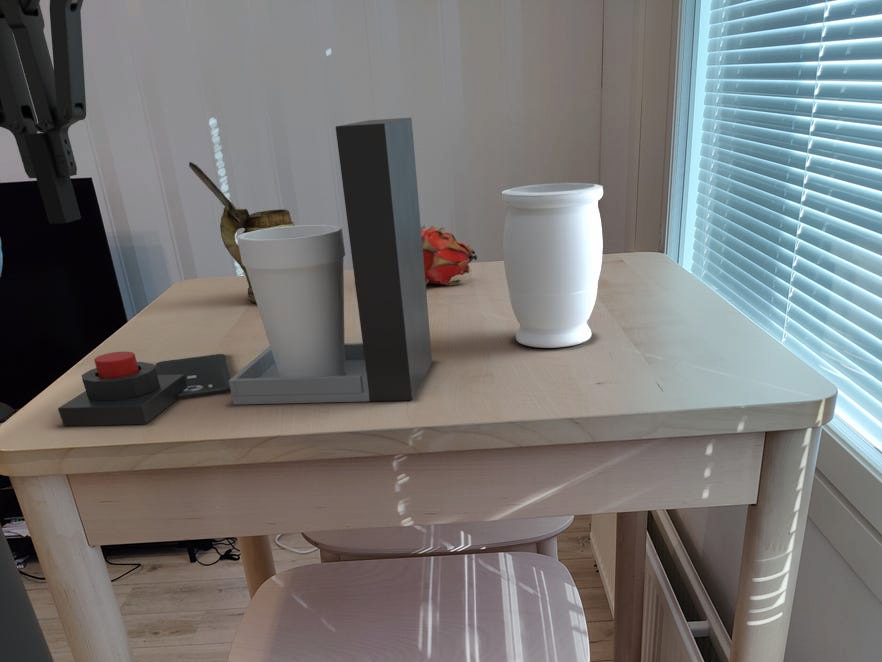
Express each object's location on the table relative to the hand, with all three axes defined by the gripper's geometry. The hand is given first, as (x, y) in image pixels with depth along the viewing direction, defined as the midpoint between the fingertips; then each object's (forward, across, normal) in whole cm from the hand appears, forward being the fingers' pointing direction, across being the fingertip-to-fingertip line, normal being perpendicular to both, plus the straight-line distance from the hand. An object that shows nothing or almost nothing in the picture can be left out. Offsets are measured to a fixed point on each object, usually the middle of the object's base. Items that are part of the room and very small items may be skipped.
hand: (65, 220), depth 74 cm
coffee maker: (+16, -20, -6) cm, 27 cm away
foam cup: (+16, -18, -6) cm, 24 cm away
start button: (+13, -1, 0) cm, 13 cm away
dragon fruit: (+17, -23, -56) cm, 63 cm away
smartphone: (+17, -4, -10) cm, 20 cm away
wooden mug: (+17, +1, -49) cm, 52 cm away
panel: (+16, -1, 0) cm, 16 cm away
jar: (+16, -41, -21) cm, 49 cm away
